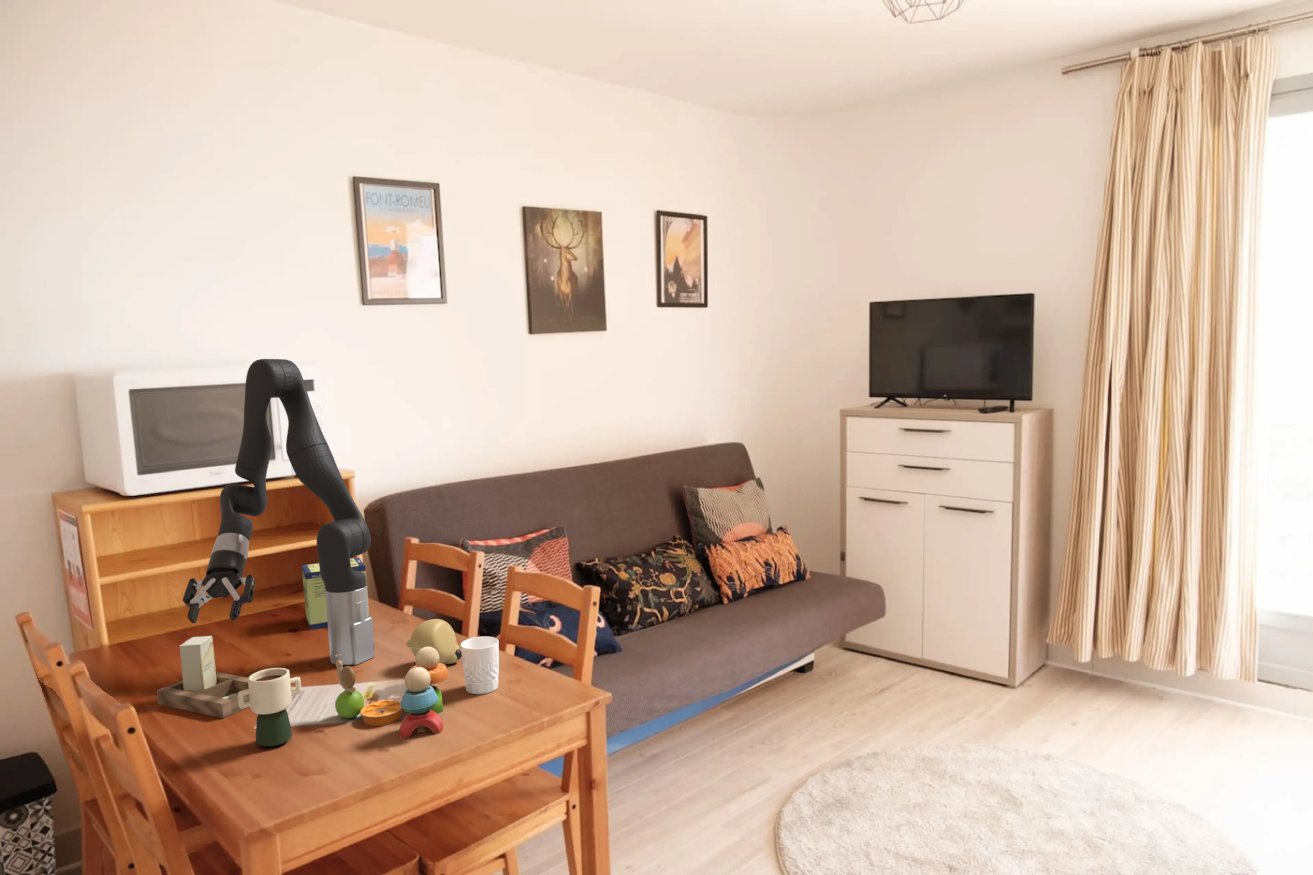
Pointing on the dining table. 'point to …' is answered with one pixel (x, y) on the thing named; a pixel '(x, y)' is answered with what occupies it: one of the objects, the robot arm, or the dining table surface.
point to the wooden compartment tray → (207, 696)
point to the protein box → (320, 593)
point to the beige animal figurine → (436, 640)
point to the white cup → (480, 664)
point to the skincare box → (198, 664)
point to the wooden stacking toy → (414, 698)
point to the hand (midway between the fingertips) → (212, 620)
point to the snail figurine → (348, 692)
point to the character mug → (270, 704)
